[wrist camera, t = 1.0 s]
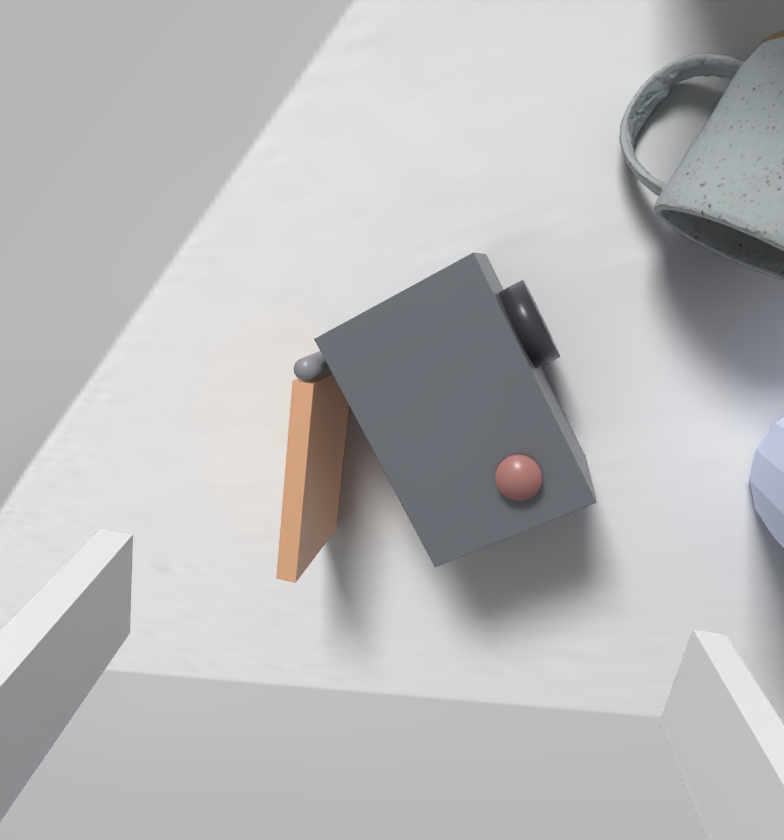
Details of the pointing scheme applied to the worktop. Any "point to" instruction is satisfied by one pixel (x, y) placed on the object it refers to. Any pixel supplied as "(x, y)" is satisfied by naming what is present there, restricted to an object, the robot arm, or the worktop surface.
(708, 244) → the ceramic mug
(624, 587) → the worktop surface
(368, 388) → the camera housing
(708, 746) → the robot arm
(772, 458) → the soap bottle
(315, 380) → the side door
